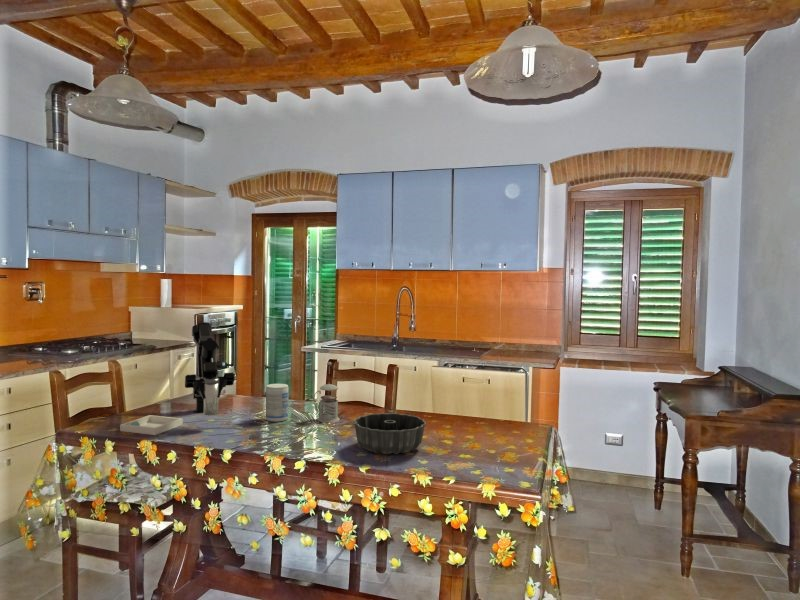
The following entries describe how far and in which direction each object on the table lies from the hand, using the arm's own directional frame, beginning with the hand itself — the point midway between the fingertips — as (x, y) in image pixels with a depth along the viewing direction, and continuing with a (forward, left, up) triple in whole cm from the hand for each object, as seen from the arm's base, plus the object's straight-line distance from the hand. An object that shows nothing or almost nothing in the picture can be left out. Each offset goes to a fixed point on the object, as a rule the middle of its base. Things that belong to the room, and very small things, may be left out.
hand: (211, 397), depth 220 cm
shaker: (-1, -1, -7) cm, 7 cm away
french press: (-20, +43, -13) cm, 49 cm away
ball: (+3, -28, -12) cm, 31 cm away
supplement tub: (-18, +22, -13) cm, 31 cm away
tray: (+1, -23, -13) cm, 26 cm away
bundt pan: (+18, +71, -13) cm, 74 cm away
